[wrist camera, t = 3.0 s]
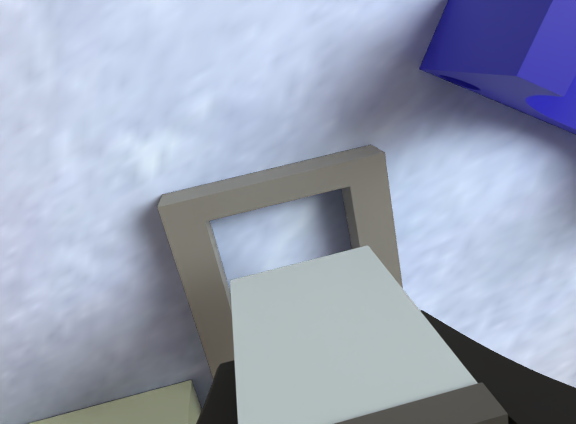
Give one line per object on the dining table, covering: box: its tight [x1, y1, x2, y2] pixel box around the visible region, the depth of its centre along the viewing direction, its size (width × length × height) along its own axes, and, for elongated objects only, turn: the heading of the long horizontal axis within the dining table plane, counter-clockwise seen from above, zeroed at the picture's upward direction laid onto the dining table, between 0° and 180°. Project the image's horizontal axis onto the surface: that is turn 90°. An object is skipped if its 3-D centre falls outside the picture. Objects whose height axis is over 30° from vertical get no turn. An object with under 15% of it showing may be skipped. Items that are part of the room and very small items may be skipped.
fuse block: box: [157, 145, 403, 379], centre depth 16 cm, size 12×8×6 cm, turn 11°
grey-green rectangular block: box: [230, 245, 508, 424], centre depth 10 cm, size 4×4×7 cm
